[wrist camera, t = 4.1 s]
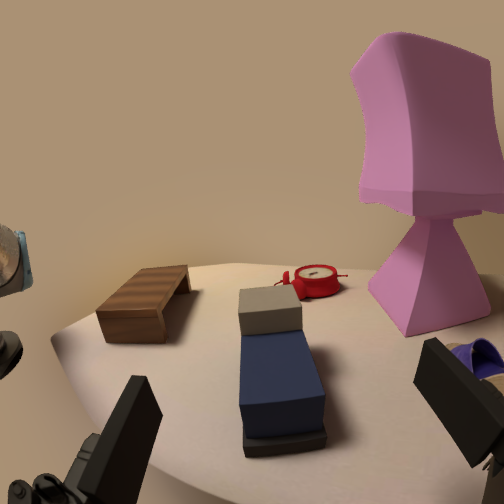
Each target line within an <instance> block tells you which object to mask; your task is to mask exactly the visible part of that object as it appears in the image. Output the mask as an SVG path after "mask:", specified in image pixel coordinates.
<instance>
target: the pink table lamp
mask: <svg viewBox="0 0 504 504" xmlns="http://www.w3.org/2000/svg"><path fill="white" fill-rule="evenodd" d="M350 76H351V79H352V81H353V84H354V86H355V89H356V92H357V95H358V97H359V100H360V104H361V107H362V111H363V116H364V122H365V128H366V146H365V157H364V163H363V170H362V174H361V179H360V184H359V199H360V202H364V203H380V204H384V205H387V206H389V207H390V208H392V209H394V210H396V211H397V212H401V213H404V214H408V215H411V216H415V223H414V224H413V226H412V227H411V228H410V230H409V231H408V232H407V234H406V235H405V237H404V238H403V239H402V241H401V242H400V243H399V245H398V246H397V247H396V249H395V250H394V251H393V253H392V254H391V255H390V256H389V258H388V259H387V260H386V261H385V263H384V264H383V265H382V266H381V268H380V269H379V270H378V271H377V273H376V274H375V275H374V276H373V277H372V279H371V280H370V281H369V282H368V291H369V292H370V293H371V294H372V295H373V297H374V298H375V299H376V300H377V302H378V303H379V304H380V305H381V307H382V308H383V309H384V310H385V312H386V313H387V314H388V315H389V317H390V318H391V319H392V321H393V322H394V323H395V324H396V326H397V327H398V328H399V330H400V331H401V332H402V334H403V335H404V336H405V337H409V336H413V335H418V334H422V333H427V332H431V331H435V330H439V329H443V328H447V327H451V326H455V325H458V324H462V323H465V322H469V321H472V320H476V319H479V318H482V317H485V316H488V315H489V314H490V310H491V305H490V303H489V300H488V297H487V295H486V292H485V290H484V287H483V285H482V283H481V280H480V278H479V276H478V273H477V271H476V269H475V267H474V265H473V263H472V261H471V258H470V256H469V254H468V252H467V250H466V249H465V247H464V244H463V242H462V241H461V239H460V237H459V235H458V233H457V231H456V230H455V228H454V226H453V219H456V218H462V217H467V216H474V215H480V214H482V210H484V211H489V212H494V213H498V214H501V213H502V214H503V213H504V160H503V156H502V152H501V148H500V144H499V140H498V135H497V130H496V125H495V117H494V110H493V98H492V84H491V66H490V61H489V60H488V59H485V58H483V57H481V56H479V55H476V54H474V53H471V52H469V51H466V50H464V49H461V48H458V47H456V46H453V45H450V44H447V43H444V42H440V41H438V40H434V39H431V38H427V37H424V36H420V35H416V34H411V33H406V32H391V33H386V34H382V35H380V36H378V37H377V38H376V39H375V40H374V41H373V42H372V43H371V45H370V46H369V47H368V48H367V50H366V51H365V52H364V54H363V55H362V56H361V58H360V59H359V60H358V61H357V63H356V64H355V66H354V67H353V68H352V70H351V72H350Z"/></svg>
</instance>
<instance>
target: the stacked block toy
mask: <svg viewBox="0 0 504 504" xmlns="http://www.w3.org/2000/svg"><path fill="white" fill-rule="evenodd" d="M238 316H239V323H240V330H241V361H240V393H239V407H240V412H241V417H242V421H243V450H244V454H245V457H256V456H269V455H279V454H288V453H295V452H302V451H309V450H315V449H320V448H325V447H326V441H327V434H326V431H325V427H324V424H323V415H324V405H325V392H324V389H323V386H322V383H321V380H320V377H319V374H318V372H317V369H316V366H315V363H314V360H313V357H312V355H311V352H310V349H309V346H308V343H307V341H306V338H305V335H304V332H303V330H302V329H303V325H302V305H301V303H300V301H299V298H298V296H297V294H296V291H295V289H294V287H293V285H292V284H287V285H278V286H269V287H259V288H249V289H240V293H239V308H238Z"/></svg>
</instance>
